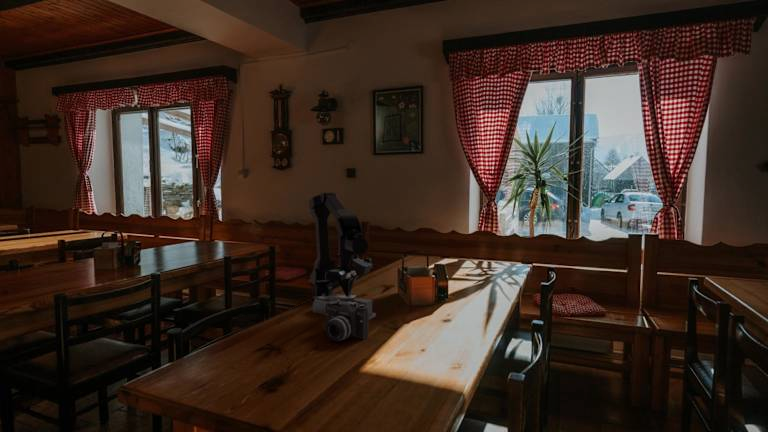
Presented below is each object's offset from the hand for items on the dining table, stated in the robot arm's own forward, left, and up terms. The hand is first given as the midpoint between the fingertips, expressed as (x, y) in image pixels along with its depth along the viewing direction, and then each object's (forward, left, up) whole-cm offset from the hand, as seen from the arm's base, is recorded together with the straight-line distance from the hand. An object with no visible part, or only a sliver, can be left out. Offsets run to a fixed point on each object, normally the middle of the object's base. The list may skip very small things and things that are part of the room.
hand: (347, 296), depth 156 cm
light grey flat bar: (-4, 0, -1) cm, 5 cm away
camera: (+11, -21, -7) cm, 24 cm away
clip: (+6, 0, -5) cm, 8 cm away
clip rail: (+6, 0, -6) cm, 8 cm away
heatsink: (-5, 0, -6) cm, 8 cm away
